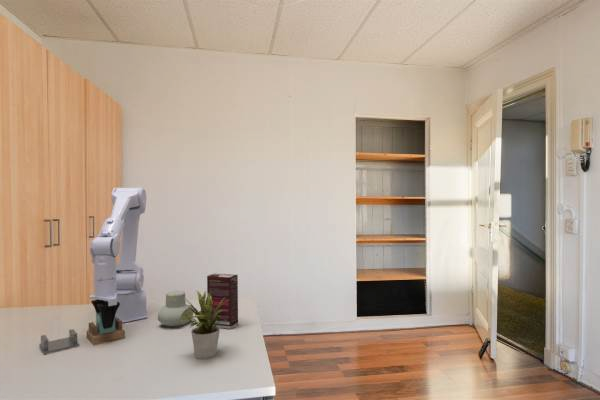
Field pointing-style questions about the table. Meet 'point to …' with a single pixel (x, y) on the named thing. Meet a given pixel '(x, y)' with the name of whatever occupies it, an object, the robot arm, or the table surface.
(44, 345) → the lower dock
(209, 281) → the supplement box
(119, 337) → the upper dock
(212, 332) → the house plant
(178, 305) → the air freshener
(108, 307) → the robot arm
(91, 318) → the table surface
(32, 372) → the table surface
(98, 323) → the plug
